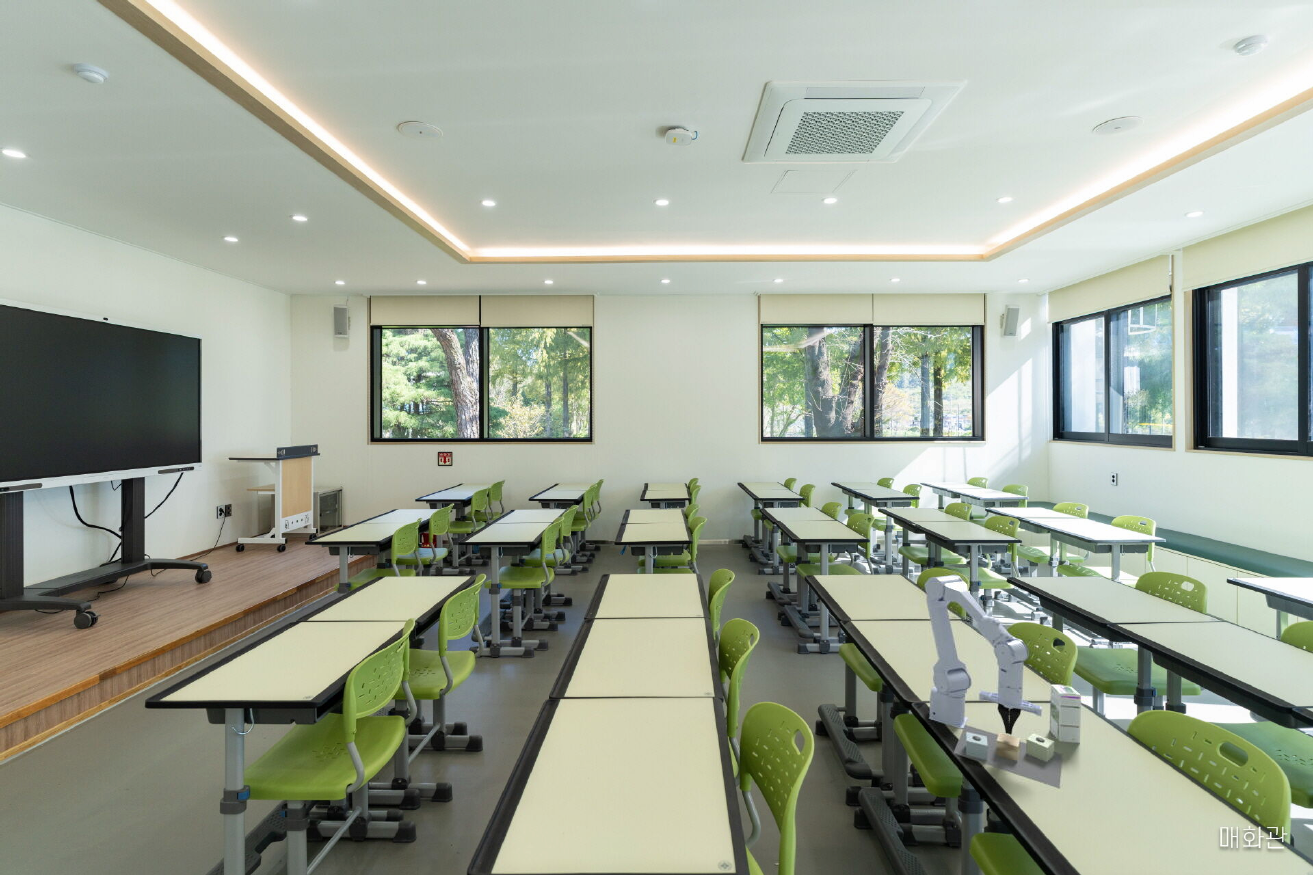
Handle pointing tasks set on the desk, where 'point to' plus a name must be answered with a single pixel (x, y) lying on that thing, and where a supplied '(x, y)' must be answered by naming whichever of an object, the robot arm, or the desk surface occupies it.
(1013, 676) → the robot arm
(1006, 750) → the beech block
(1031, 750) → the sage dotted block
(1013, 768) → the rubber mat
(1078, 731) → the syrup box
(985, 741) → the slate dotted block
